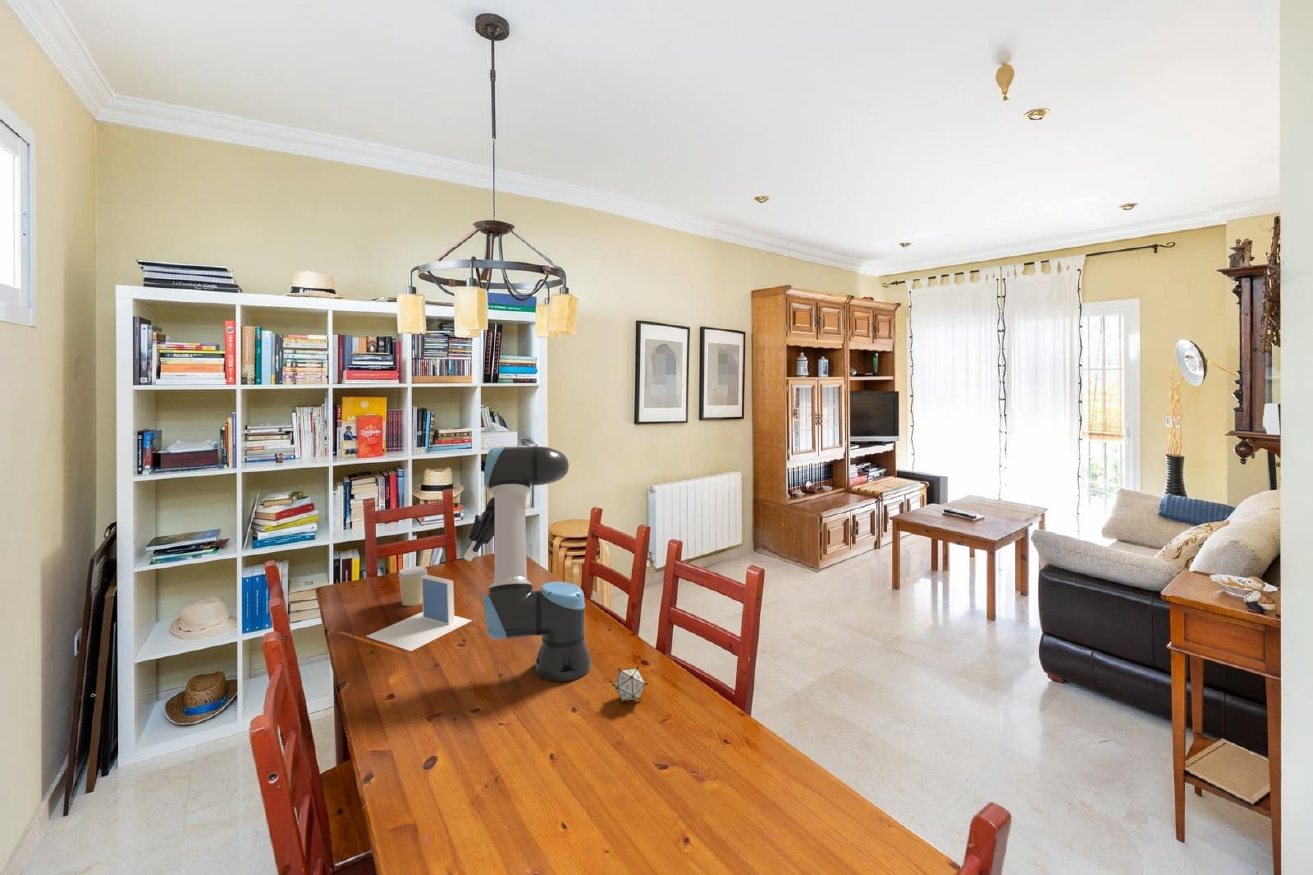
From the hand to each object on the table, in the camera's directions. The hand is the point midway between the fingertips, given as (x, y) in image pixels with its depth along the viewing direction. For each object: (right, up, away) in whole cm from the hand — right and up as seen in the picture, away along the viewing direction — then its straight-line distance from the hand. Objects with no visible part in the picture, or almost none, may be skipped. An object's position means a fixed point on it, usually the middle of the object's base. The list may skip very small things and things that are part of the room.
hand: (467, 559), depth 197 cm
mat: (-9, -19, -17) cm, 27 cm away
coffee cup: (-20, -17, +5) cm, 27 cm away
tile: (-6, -18, -10) cm, 21 cm away
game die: (+59, -24, -55) cm, 84 cm away
